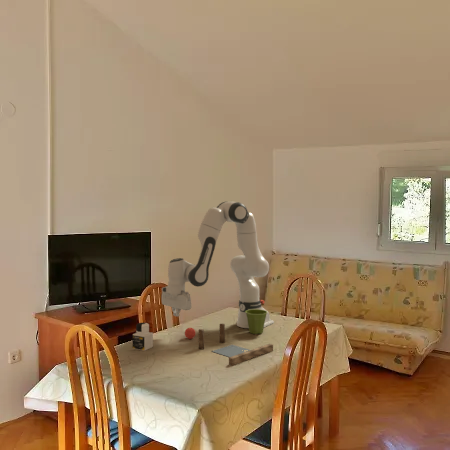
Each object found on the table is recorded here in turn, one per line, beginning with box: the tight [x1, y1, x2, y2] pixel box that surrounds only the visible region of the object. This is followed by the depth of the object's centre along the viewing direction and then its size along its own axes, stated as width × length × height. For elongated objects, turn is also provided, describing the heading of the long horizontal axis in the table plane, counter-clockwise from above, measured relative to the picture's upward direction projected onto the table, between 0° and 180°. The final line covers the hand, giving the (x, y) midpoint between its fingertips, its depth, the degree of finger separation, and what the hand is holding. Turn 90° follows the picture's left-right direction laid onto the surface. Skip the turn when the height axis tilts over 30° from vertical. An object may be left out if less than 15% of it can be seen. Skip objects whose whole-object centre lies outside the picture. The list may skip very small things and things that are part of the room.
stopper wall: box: [228, 343, 274, 366], centre depth 228 cm, size 28×2×3 cm, turn 136°
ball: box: [184, 327, 197, 340], centre depth 257 cm, size 6×6×6 cm
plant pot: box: [245, 309, 268, 335], centre depth 268 cm, size 12×12×11 cm
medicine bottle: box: [132, 322, 154, 352], centre depth 242 cm, size 7×7×12 cm
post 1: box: [198, 328, 205, 350], centre depth 241 cm, size 3×3×9 cm
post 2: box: [219, 323, 226, 344], centre depth 251 cm, size 3×3×9 cm
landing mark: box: [211, 344, 251, 358], centre depth 236 cm, size 14×14×1 cm
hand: (176, 315), depth 262 cm, fingers closed
